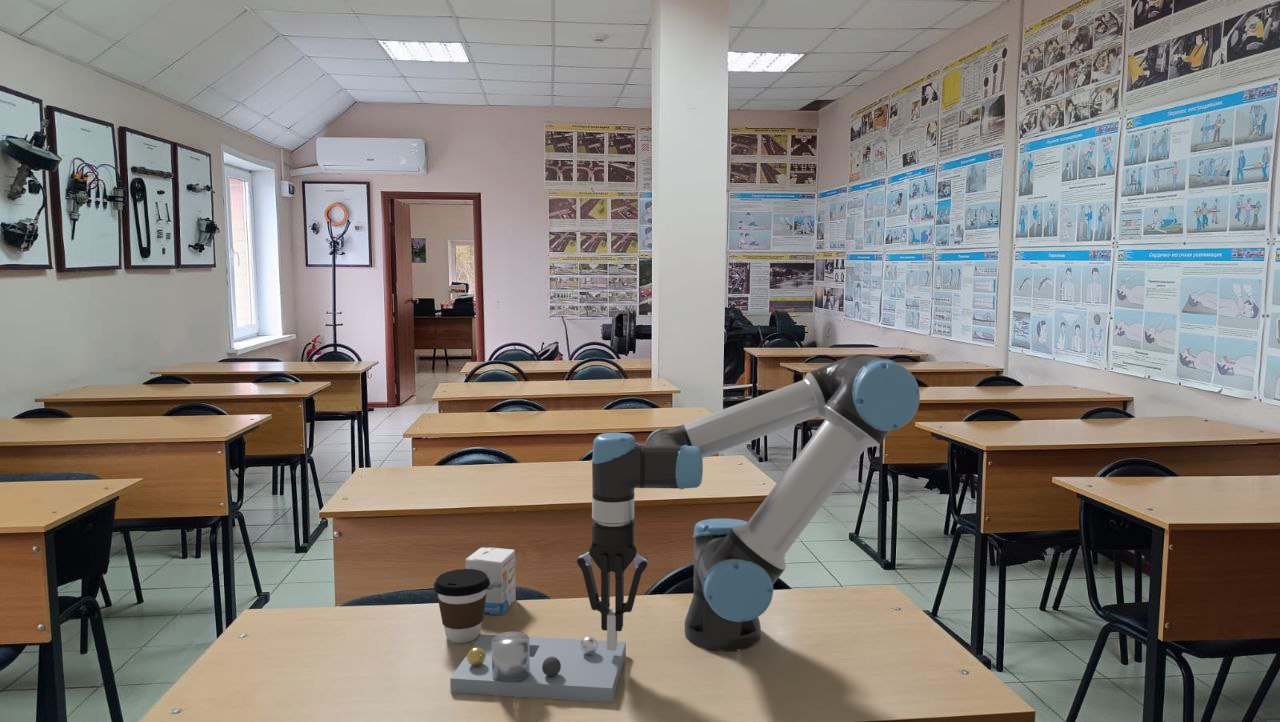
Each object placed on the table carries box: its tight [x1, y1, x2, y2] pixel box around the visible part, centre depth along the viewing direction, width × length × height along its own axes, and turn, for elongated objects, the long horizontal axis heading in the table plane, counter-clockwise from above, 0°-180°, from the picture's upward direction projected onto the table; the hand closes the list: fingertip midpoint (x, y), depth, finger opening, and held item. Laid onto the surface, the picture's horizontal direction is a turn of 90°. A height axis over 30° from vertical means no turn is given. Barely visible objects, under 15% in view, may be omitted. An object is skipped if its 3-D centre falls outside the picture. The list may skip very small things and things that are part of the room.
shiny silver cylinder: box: [492, 630, 530, 682], centre depth 135 cm, size 6×6×6 cm
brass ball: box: [466, 647, 486, 666], centre depth 138 cm, size 3×3×3 cm
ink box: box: [464, 547, 517, 615], centre depth 170 cm, size 9×8×12 cm
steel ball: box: [580, 635, 598, 655], centre depth 143 cm, size 3×3×3 cm
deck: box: [449, 633, 627, 703], centre depth 141 cm, size 28×17×2 cm, turn 83°
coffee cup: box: [433, 568, 490, 644], centre depth 155 cm, size 11×11×12 cm
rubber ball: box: [542, 657, 561, 677], centre depth 135 cm, size 3×3×3 cm
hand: (612, 646), depth 142 cm, fingers closed
